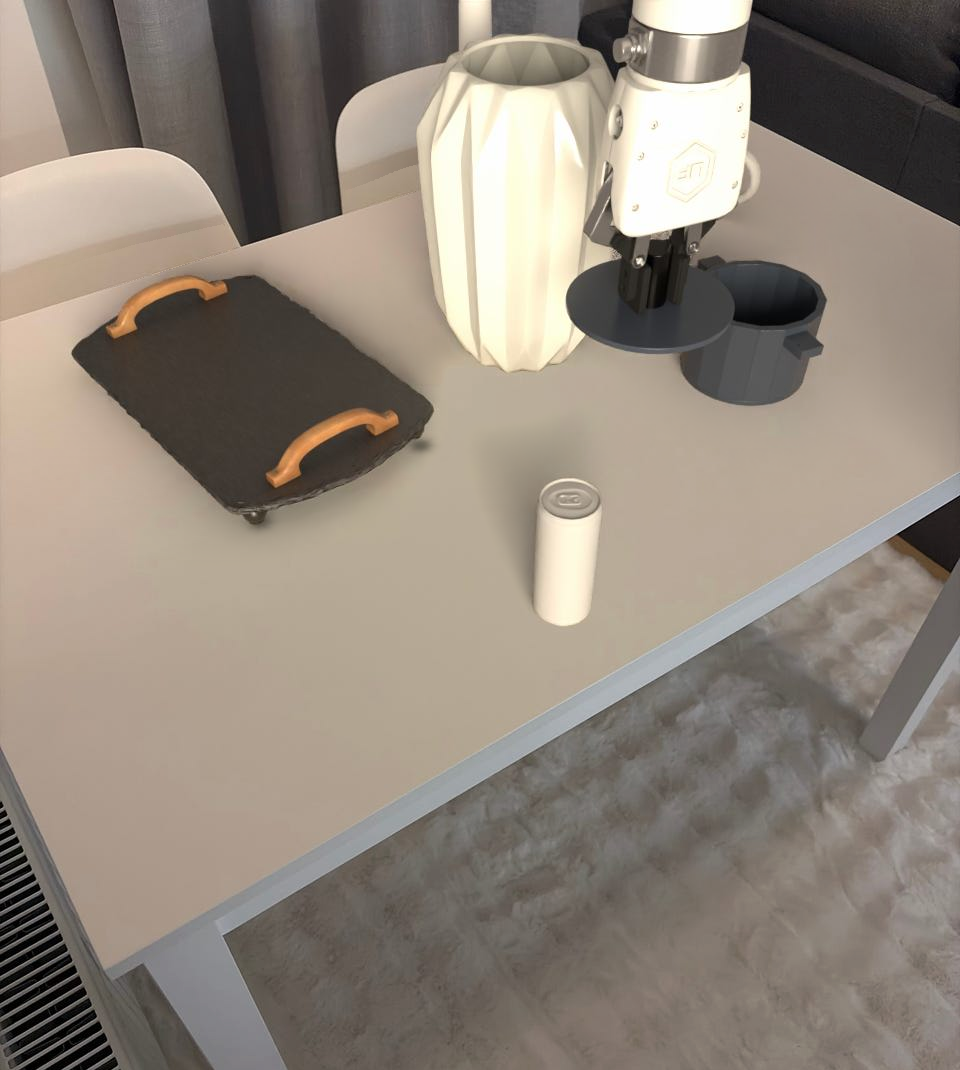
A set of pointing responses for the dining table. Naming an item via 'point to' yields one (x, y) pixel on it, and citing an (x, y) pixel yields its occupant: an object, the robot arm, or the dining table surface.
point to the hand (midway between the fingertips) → (650, 298)
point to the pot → (759, 334)
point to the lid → (650, 307)
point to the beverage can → (566, 550)
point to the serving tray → (250, 391)
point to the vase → (513, 192)
